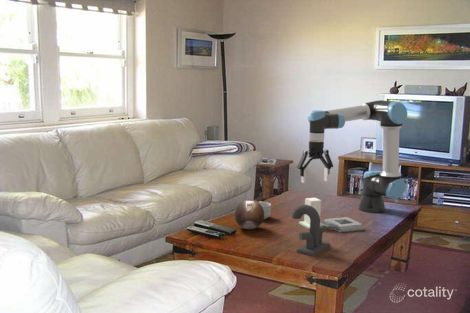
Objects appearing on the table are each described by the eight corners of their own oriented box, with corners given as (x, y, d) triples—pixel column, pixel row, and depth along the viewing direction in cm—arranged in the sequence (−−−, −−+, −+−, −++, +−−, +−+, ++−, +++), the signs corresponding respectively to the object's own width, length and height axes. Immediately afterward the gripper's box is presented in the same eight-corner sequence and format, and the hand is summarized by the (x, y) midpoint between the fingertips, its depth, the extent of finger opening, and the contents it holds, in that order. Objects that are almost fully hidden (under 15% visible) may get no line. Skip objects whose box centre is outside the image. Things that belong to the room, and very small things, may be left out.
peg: (313, 221, 277) (315, 197, 275) (319, 224, 272) (321, 200, 270) (303, 222, 275) (305, 198, 273) (309, 225, 270) (311, 201, 268)
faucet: (300, 239, 251) (302, 198, 248) (330, 246, 242) (333, 204, 239) (281, 249, 236) (283, 206, 233) (313, 256, 228) (315, 212, 224)
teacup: (269, 221, 279) (269, 207, 277) (249, 220, 281) (249, 205, 279) (272, 214, 292) (273, 200, 291) (253, 213, 294) (253, 199, 293)
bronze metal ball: (238, 233, 256) (238, 204, 254) (231, 225, 271) (231, 196, 268) (267, 232, 260) (268, 203, 257) (259, 223, 274) (260, 195, 272)
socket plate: (346, 222, 281) (347, 216, 281) (362, 229, 268) (362, 224, 268) (324, 224, 276) (324, 219, 275) (339, 232, 263) (339, 226, 262)
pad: (315, 221, 280) (315, 220, 280) (325, 227, 271) (325, 225, 271) (298, 223, 276) (298, 221, 276) (308, 228, 267) (308, 227, 267)
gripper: (333, 139, 275) (331, 178, 278) (291, 140, 265) (289, 181, 269) (341, 140, 268) (339, 181, 271) (298, 142, 258) (297, 184, 262)
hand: (314, 181), depth 270 cm, fingers open, 13 cm apart
